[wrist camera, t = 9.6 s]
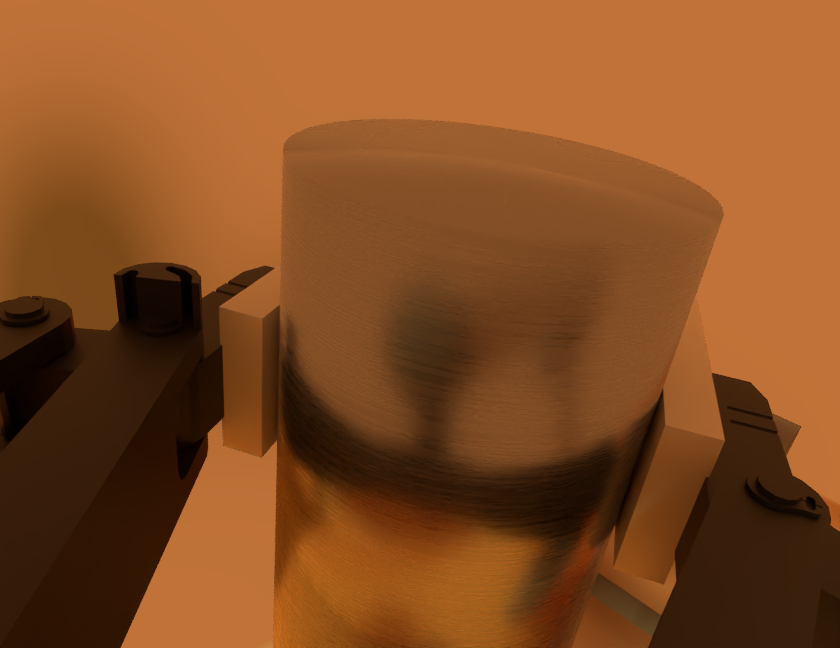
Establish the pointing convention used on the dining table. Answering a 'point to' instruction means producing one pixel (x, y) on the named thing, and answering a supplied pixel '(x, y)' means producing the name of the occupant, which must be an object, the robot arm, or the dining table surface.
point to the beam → (636, 593)
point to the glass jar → (466, 375)
